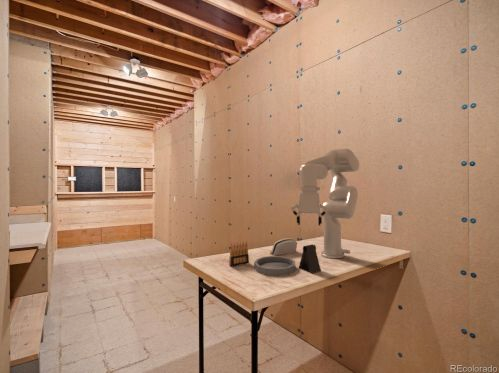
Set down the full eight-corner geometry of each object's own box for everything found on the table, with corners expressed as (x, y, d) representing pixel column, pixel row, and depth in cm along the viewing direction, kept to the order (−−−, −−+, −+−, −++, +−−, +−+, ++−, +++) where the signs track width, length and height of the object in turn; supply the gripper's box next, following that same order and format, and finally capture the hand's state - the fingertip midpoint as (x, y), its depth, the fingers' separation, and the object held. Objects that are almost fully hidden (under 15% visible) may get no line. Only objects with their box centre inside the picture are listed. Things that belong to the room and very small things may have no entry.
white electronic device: (291, 249, 161) (294, 235, 158) (295, 253, 157) (299, 239, 154) (269, 253, 152) (272, 239, 149) (273, 258, 148) (277, 243, 145)
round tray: (296, 262, 135) (295, 257, 135) (293, 276, 115) (293, 270, 115) (258, 260, 139) (258, 255, 139) (250, 273, 120) (250, 267, 120)
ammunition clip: (230, 266, 130) (230, 243, 130) (229, 265, 132) (228, 242, 131) (249, 263, 135) (248, 240, 135) (247, 262, 137) (247, 240, 137)
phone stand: (320, 271, 122) (320, 246, 122) (311, 273, 119) (311, 248, 119) (307, 265, 130) (307, 242, 129) (298, 268, 127) (298, 244, 126)
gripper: (326, 189, 125) (327, 224, 125) (291, 189, 129) (291, 223, 129) (328, 190, 118) (328, 226, 118) (290, 190, 122) (290, 225, 122)
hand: (309, 224), depth 124 cm, fingers open, 9 cm apart
